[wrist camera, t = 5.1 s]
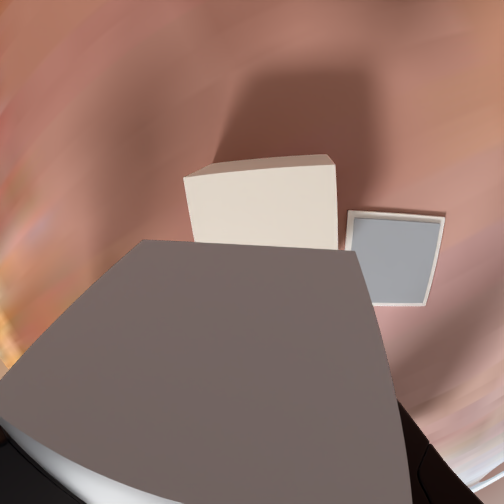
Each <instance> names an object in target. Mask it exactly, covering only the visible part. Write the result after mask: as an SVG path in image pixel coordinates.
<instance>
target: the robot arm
mask: <svg viewBox="0 0 504 504" xmlns="http://www.w3.org/2000/svg"><path fill="white" fill-rule="evenodd" d="M396 399H397V398H396ZM397 403H398V408H399V413H400V419H401V424H402V430H403V435H404V441H405V447H406V454H407V461H408V468H409V476H410V484H411V494H412V504H484V503H483V502H482V501H481V500H480V499H479V498H478V497H477V496H476V495H475V494H474V493H473V492H472V491H471V490H470V489H469V488H468V487H467V486H466V485H465V484H464V483H463V482H462V481H461V479H460V478H459V477H458V476H457V475H456V474H455V473H454V472H453V471H452V469H451V468H450V467H449V466H448V465H447V463H446V462H445V461H444V460H443V458H442V457H441V456H440V455H439V453H438V452H437V451H436V449H435V448H434V447H433V445H432V444H429V440H428V439H427V438H426V436H425V435H424V434H423V432H422V431H421V430H420V428H419V427H418V426H417V424H416V423H415V422H414V420H413V419H412V418H411V416H410V415H409V414H408V413H407V411H406V410H405V409H404V407H403V406H402V405H401V403H400V402H399V401H398V400H397ZM0 504H87V503H85V502H84V501H83V500H81V499H80V498H78V497H77V496H76V495H74V494H73V493H72V492H71V491H69V490H68V489H67V488H66V487H64V486H63V485H62V484H61V483H59V482H58V481H57V480H56V479H55V478H53V477H52V476H51V475H50V474H49V473H48V472H47V471H45V470H44V469H43V468H42V467H41V466H40V465H39V464H38V463H37V462H36V461H35V460H33V459H32V458H31V457H30V456H29V455H28V454H27V453H26V452H25V451H24V450H23V449H22V448H21V447H20V446H19V445H18V444H17V442H16V441H15V440H14V439H13V438H12V437H11V436H10V435H9V434H8V433H7V432H6V431H5V429H4V428H3V427H2V426H1V425H0Z"/></svg>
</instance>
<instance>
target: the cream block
mask: <svg viewBox="0 0 504 504" xmlns="http://www.w3.org/2000/svg"><path fill="white" fill-rule="evenodd" d="M183 179H184V185H185V191H186V197H187V203H188V208H189V214H190V220H191V225H192V230H193V236H194V241H195V242H203V243H223V244H242V245H260V246H279V247H297V248H314V249H332V250H338V216H337V187H336V168H335V164H334V162H333V161H332V160H331V159H330V157H329V156H328V155H327V154H317V155H298V156H283V157H270V158H259V159H248V160H238V161H229V162H220V163H212V164H210V165H208V166H206V167H204V168H202V169H200V170H198V171H196V172H194V173H191V174H189V175H187V176H185V177H183Z"/></svg>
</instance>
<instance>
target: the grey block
mask: <svg viewBox="0 0 504 504" xmlns="http://www.w3.org/2000/svg"><path fill="white" fill-rule="evenodd" d="M0 425H1V426H2V427H3V428H4V429H5V431H6V432H7V433H8V434H9V435H10V436H11V437H12V438H13V439H14V440H15V441H16V442H17V444H18V445H19V446H20V447H21V448H22V449H23V450H24V451H25V452H26V453H27V454H28V455H29V456H30V457H31V458H32V459H33V460H35V461H36V462H37V463H38V464H39V465H40V466H41V467H42V468H43V469H44V470H45V471H47V472H48V473H49V474H50V475H51V476H52V477H53V478H55V479H56V480H57V481H58V482H59V483H61V484H62V485H63V486H64V487H66V488H67V489H68V490H69V491H71V492H72V493H73V494H74V495H76V496H77V497H78V498H80V499H81V500H83V501H84V502H85V503H87V504H412V494H411V484H410V476H409V468H408V461H407V454H406V447H405V441H404V435H403V430H402V424H401V419H400V413H399V408H398V403H397V399H396V394H395V389H394V385H393V380H392V376H391V372H390V368H389V363H388V359H387V355H386V351H385V348H384V344H383V340H382V336H381V333H380V329H379V325H378V322H377V318H376V315H375V311H374V308H373V305H372V301H371V298H370V295H369V292H368V288H367V285H366V282H365V279H364V276H363V273H362V270H361V267H360V264H359V261H358V258H357V255H356V252H355V251H349V250H332V249H314V248H297V247H279V246H260V245H242V244H223V243H203V242H183V241H163V240H142V241H141V242H140V243H139V244H137V245H136V246H135V247H134V248H133V249H132V250H131V251H129V252H128V253H127V254H126V255H125V256H124V257H123V258H121V259H120V260H119V261H118V262H117V263H116V264H115V265H114V266H112V267H111V268H110V269H109V270H108V271H107V272H106V273H105V274H104V275H102V276H101V277H100V278H99V279H98V280H97V281H96V282H95V283H94V284H93V285H92V286H91V287H89V288H88V289H87V290H86V291H85V292H84V293H83V294H82V295H81V296H80V297H79V298H78V299H77V300H76V301H75V302H74V303H73V304H72V305H71V306H70V307H69V308H68V309H67V310H66V311H65V312H64V313H63V314H62V315H61V316H60V317H59V318H58V319H57V320H56V321H55V322H54V323H53V324H52V325H51V326H50V327H49V328H48V329H47V330H46V331H45V332H44V333H43V334H42V335H41V336H40V337H39V338H38V339H37V340H36V341H35V342H34V343H33V344H32V345H31V346H30V348H29V349H28V350H27V351H26V352H25V353H24V354H23V355H22V356H21V357H20V358H19V360H18V361H17V362H16V363H15V364H14V365H13V366H12V367H11V368H10V370H9V371H8V372H7V373H6V374H5V375H4V377H3V378H2V379H1V380H0Z"/></svg>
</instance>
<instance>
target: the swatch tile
mask: <svg viewBox="0 0 504 504" xmlns="http://www.w3.org/2000/svg"><path fill="white" fill-rule="evenodd" d="M444 222H445V217H442V216H430V215H418V214H405V213H391V212H375V211H358V210H348V216H347V229H346V240H345V250H349V251H355V252H356V255H357V258H358V261H359V264H360V267H361V270H362V273H363V276H364V279H365V282H366V285H367V288H368V292H369V295H370V298H371V301H372V305H373V306H426V302H427V299H428V295H429V291H430V288H431V284H432V280H433V276H434V272H435V267H436V263H437V258H438V254H439V249H440V244H441V239H442V234H443V228H444Z"/></svg>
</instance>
